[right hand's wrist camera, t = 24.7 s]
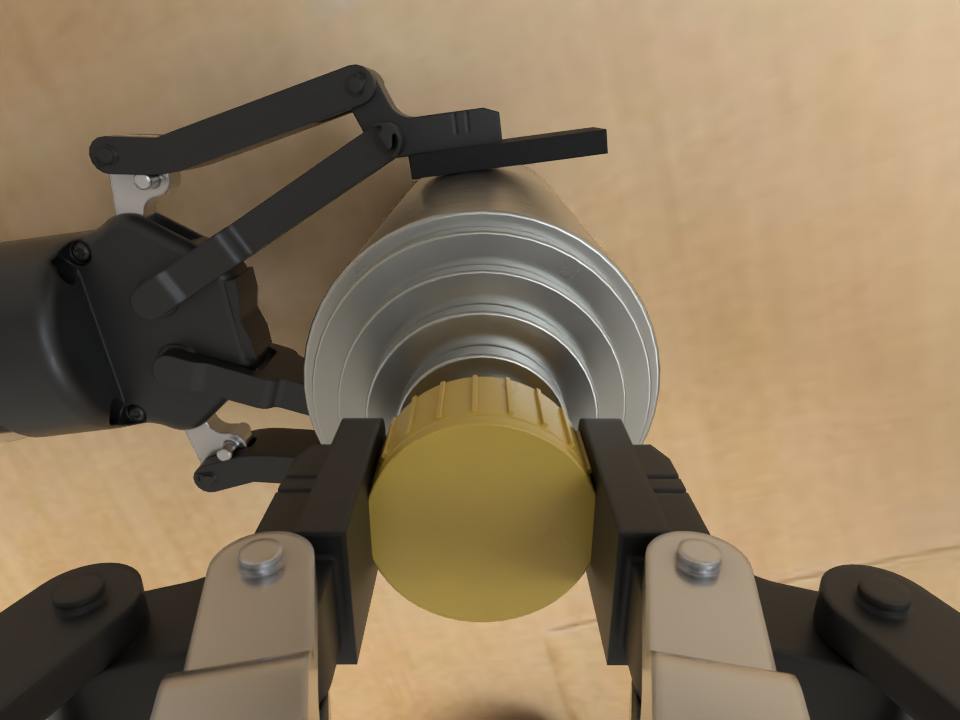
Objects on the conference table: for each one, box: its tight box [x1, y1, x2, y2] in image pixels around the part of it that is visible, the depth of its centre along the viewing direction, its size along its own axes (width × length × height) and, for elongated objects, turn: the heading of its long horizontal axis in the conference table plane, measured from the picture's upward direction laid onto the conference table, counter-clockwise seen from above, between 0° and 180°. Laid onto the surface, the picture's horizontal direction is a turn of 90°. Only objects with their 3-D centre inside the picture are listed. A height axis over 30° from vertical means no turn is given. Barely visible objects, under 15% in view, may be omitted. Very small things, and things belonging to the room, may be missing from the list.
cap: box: [369, 375, 595, 622], centre depth 11 cm, size 4×4×2 cm
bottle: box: [304, 165, 660, 445], centre depth 21 cm, size 8×8×21 cm
